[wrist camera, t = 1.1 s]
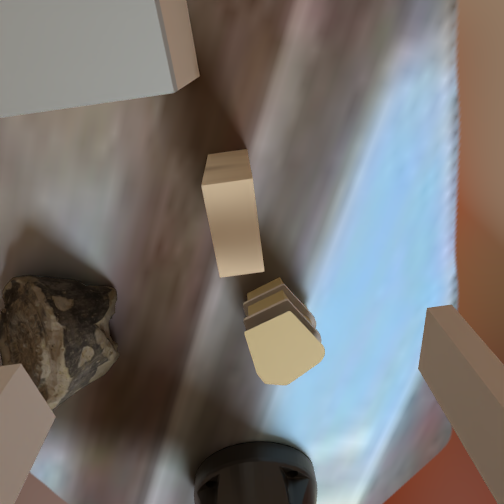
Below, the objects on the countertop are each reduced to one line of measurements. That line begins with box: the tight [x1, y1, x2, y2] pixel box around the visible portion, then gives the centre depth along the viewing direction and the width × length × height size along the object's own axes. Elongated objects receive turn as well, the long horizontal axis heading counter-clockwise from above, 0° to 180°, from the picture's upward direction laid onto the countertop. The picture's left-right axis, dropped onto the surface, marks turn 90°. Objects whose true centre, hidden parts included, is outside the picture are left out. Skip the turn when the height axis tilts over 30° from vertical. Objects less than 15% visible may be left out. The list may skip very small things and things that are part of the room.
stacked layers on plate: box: [243, 277, 325, 385], centre depth 30 cm, size 10×9×6 cm
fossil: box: [0, 275, 120, 410], centre depth 29 cm, size 11×9×10 cm
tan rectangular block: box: [201, 149, 265, 278], centre depth 24 cm, size 6×3×7 cm, turn 7°
